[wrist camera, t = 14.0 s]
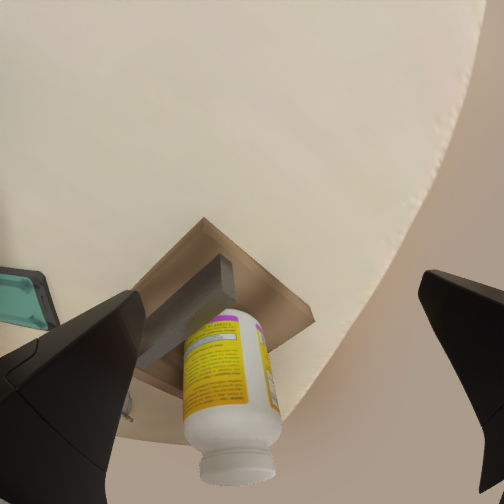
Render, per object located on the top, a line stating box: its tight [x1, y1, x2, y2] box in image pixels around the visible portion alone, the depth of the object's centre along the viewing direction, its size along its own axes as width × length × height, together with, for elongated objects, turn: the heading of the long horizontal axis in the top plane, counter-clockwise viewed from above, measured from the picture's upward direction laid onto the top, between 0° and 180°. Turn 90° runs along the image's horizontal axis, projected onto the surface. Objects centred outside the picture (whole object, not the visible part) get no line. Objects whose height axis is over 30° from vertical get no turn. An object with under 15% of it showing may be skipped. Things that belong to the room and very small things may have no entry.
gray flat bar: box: [136, 253, 236, 370], centre depth 21 cm, size 1×10×4 cm, turn 132°
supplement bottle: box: [183, 309, 282, 486], centre depth 20 cm, size 7×7×13 cm
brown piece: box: [131, 218, 315, 399], centre depth 24 cm, size 13×12×6 cm
